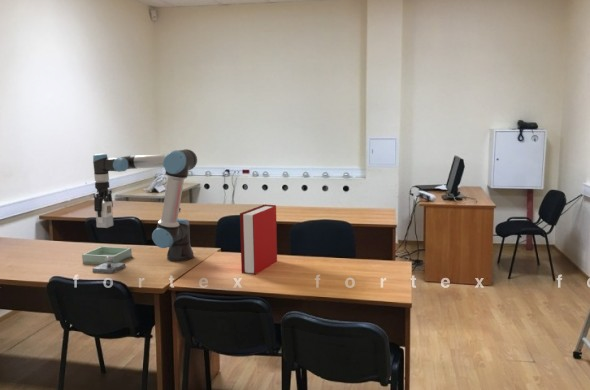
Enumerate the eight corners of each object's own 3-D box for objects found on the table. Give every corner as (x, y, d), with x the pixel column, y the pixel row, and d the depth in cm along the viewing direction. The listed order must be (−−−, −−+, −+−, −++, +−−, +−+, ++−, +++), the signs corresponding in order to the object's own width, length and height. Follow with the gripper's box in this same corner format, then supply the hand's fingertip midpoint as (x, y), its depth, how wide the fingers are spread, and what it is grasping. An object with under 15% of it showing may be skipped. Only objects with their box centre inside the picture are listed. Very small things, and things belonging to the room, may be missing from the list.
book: (255, 275, 258) (253, 214, 253) (241, 273, 261) (239, 213, 256) (278, 260, 282) (277, 205, 277) (265, 259, 286) (264, 204, 281)
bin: (131, 256, 295) (131, 248, 294) (113, 265, 277) (113, 256, 276) (102, 254, 299) (101, 246, 299) (82, 263, 282) (82, 254, 281)
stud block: (125, 266, 274) (124, 253, 273) (112, 273, 263) (111, 259, 262) (106, 265, 277) (105, 252, 276) (92, 272, 266) (91, 258, 265)
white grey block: (103, 224, 289) (101, 201, 287) (114, 225, 287) (112, 201, 285) (96, 227, 283) (94, 203, 280) (107, 227, 281) (105, 203, 279)
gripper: (106, 179, 291) (109, 217, 295) (85, 183, 272) (88, 224, 276) (117, 179, 289) (120, 218, 293) (97, 183, 271) (100, 225, 274)
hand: (104, 221), depth 285 cm, fingers closed on white grey block, 6 cm apart
